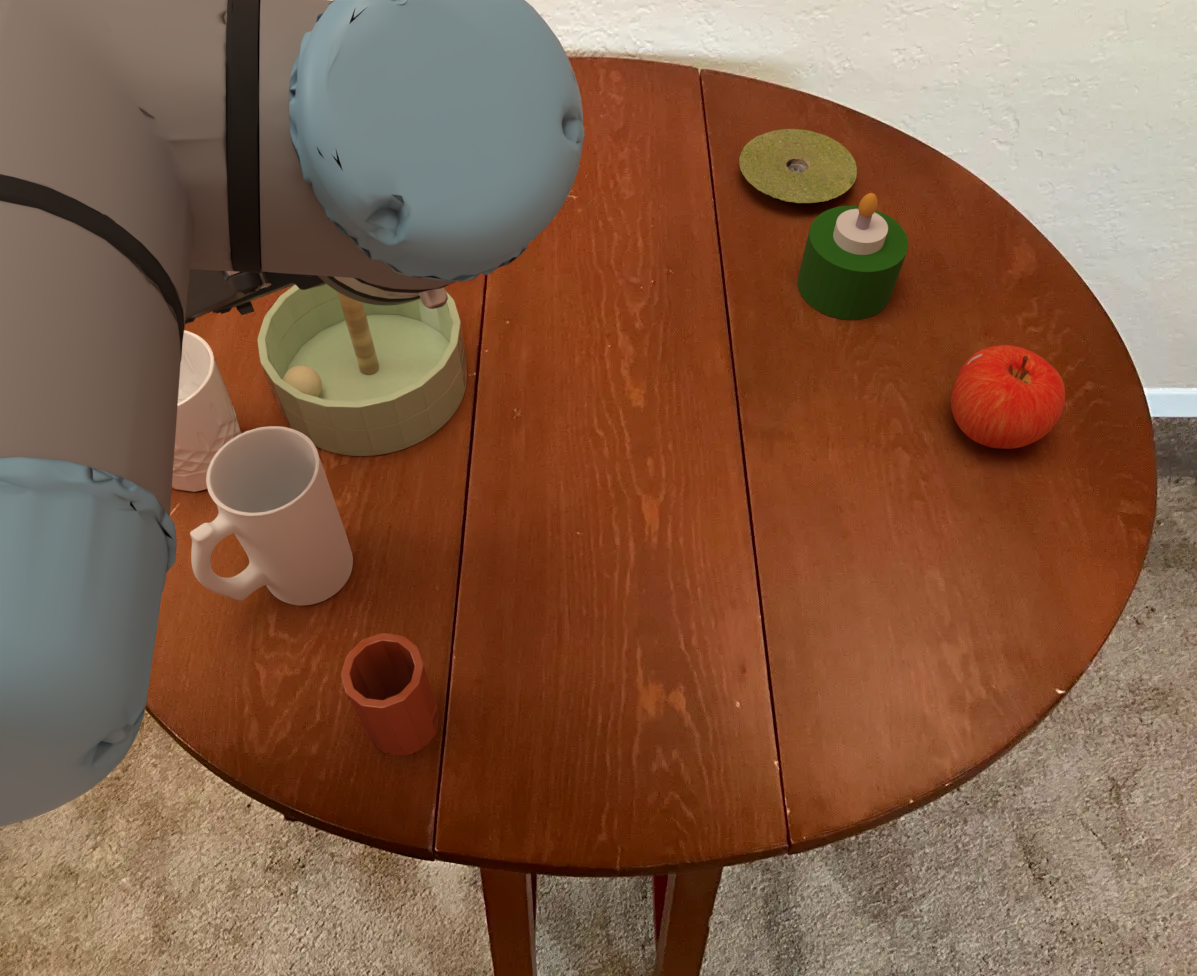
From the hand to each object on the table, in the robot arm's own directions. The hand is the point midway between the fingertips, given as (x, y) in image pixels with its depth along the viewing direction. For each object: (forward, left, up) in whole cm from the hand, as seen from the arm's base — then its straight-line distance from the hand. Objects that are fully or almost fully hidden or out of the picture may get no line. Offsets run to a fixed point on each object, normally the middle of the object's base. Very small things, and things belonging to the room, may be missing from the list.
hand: (352, 258), depth 58 cm
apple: (+35, +31, -20) cm, 50 cm away
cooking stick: (-8, +5, -19) cm, 21 cm away
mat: (+7, +48, -20) cm, 52 cm away
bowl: (-7, +4, -20) cm, 22 cm away
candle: (+18, +38, -20) cm, 46 cm away
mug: (+1, -13, -20) cm, 24 cm away
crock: (+15, -15, -20) cm, 29 cm away
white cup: (-12, -9, -20) cm, 25 cm away
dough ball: (-10, -1, -18) cm, 20 cm away
